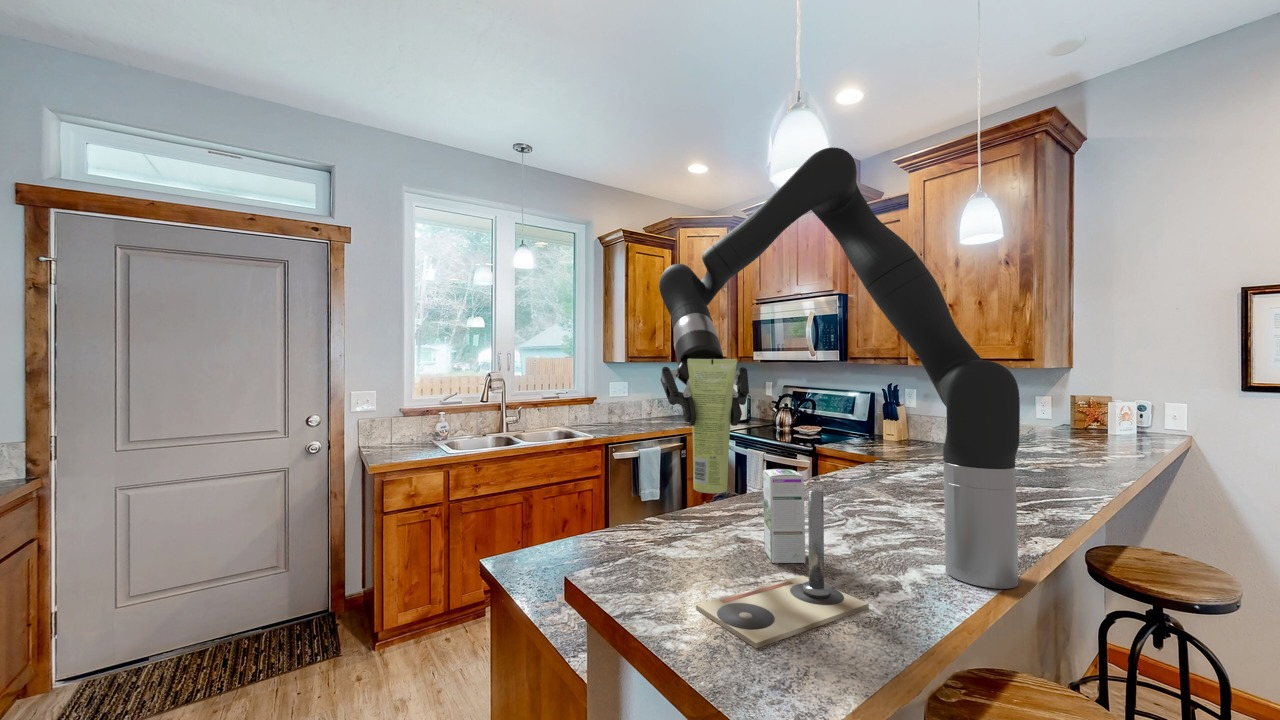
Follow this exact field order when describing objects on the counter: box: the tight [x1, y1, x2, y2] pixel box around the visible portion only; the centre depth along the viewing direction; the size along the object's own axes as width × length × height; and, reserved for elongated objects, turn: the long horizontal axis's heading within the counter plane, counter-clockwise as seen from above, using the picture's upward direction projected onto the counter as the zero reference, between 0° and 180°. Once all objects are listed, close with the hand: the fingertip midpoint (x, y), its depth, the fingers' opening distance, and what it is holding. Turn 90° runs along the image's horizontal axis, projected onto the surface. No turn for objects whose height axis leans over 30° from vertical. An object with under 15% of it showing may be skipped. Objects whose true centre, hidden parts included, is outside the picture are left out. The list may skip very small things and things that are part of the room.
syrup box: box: [762, 468, 806, 565], centre depth 84 cm, size 6×6×14 cm
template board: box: [695, 575, 870, 649], centre depth 65 cm, size 20×11×1 cm, turn 121°
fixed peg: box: [803, 488, 832, 599], centre depth 69 cm, size 4×4×14 cm
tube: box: [687, 358, 738, 494], centre depth 74 cm, size 6×5×20 cm
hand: (714, 421), depth 72 cm, fingers closed on tube, 5 cm apart
